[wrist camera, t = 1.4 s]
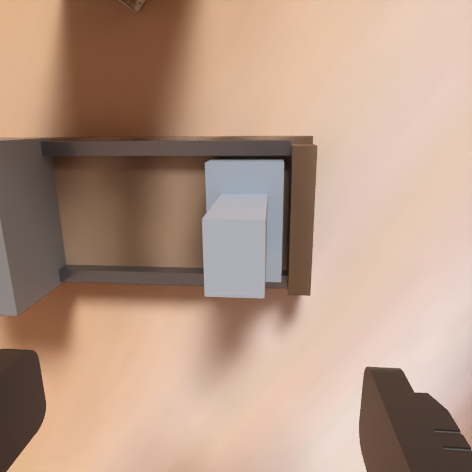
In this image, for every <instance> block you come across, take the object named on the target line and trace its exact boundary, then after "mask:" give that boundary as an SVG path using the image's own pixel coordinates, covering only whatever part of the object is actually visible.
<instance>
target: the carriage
mask: <svg viewBox="0 0 472 472" xmlns="http://www.w3.org/2000/svg"><path fill="white" fill-rule="evenodd" d="M205 185H206V214H205V216H204V217H203V218H202V236H203V266H204V296H205V297H232V298H265V282H281V272H282V231H283V191H284V160H283V159H211V160H209V161H207V162H205Z"/></svg>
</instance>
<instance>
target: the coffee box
mask: <svg viewBox="0 0 472 472" xmlns="http://www.w3.org/2000/svg"><path fill="white" fill-rule="evenodd" d="M119 1H120V2H121V3H123V4H124V5H125V6H127V7H128V8H130V9H131V10H132V11H134V12H139V10H140V9H141V7H142V6H143V4H144V2H145V0H119Z"/></svg>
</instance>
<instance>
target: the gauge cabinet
mask: <svg viewBox="0 0 472 472" xmlns="http://www.w3.org/2000/svg"><path fill="white" fill-rule="evenodd" d="M41 141H50V138H0V315H1V316H18V315H20V314H21V313H22V312H24V311H25V310H26V309H28V308H29V307H30V306H32V305H33V304H35V303H36V302H37V301H39V300H40V299H41V298H43V297H44V296H45V295H47V294H48V293H49V292H51V291H52V290H53V289H55V288H56V287H57V286H59V285H60V284H62V283H63V282H60V277H59V269H60V268H62V267H63V266H65V265H66V258H65V250H64V243H63V235H62V228H61V220H60V213H59V206H58V198H57V191H56V183H55V176H54V168H53V161H52V156H42V149H41Z"/></svg>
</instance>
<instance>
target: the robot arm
mask: <svg viewBox="0 0 472 472" xmlns="http://www.w3.org/2000/svg"><path fill="white" fill-rule="evenodd" d="M45 411H46V400H45V394H44V387H43V381H42V375H41V369H40V363H39V358H38V355H37V353H36V352H35V351H33V350H19V349H0V472H6V471H7V470H8V469H9V467H10V466H11V465H12V464H13V462H14V461H15V460H16V458H17V457H18V456H19V455H20V453H21V452H22V451H23V449H24V448H25V447H26V446H27V444H28V443H29V442H30V440H31V439H32V438H33V436H34V435H35V434H36V433H37V431H38V430H39V428H40V426H41V424H42V422H43V419H44V416H45ZM359 437H360V445H361V451H362V455H363V459H364V463H365V466H366V470H367V472H472V452H471V447H470V446H469V444H468V442H467V441H466V439H465V438H464V436H463V435H461V434H460V429H459V428H458V426H457V425H456V423H455V421H454V420H453V418H452V416H451V415H450V413H449V412H448V410H447V409H446V408H444V407H443V406H442V405H441V404H440V403H439V402H437V401H436V400H435V399H434V398H433V397H432V396H430V395H429V394H428V393H414V391H413V389H412V387H411V386H410V384H409V382H408V380H407V378H406V376H405V374H404V372H403V371H402V370H401V369H400V368H380V367H366V369H365V371H364V378H363V388H362V399H361V409H360V420H359Z"/></svg>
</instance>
